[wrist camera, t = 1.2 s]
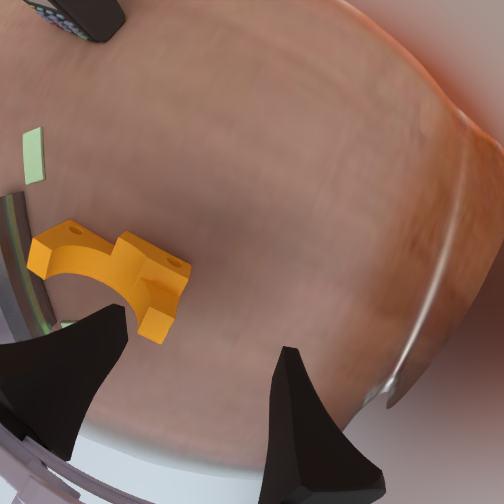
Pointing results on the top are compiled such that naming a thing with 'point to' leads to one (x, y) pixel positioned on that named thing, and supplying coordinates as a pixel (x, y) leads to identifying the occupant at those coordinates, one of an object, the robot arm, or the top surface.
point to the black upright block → (82, 16)
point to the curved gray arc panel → (20, 275)
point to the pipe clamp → (116, 271)
